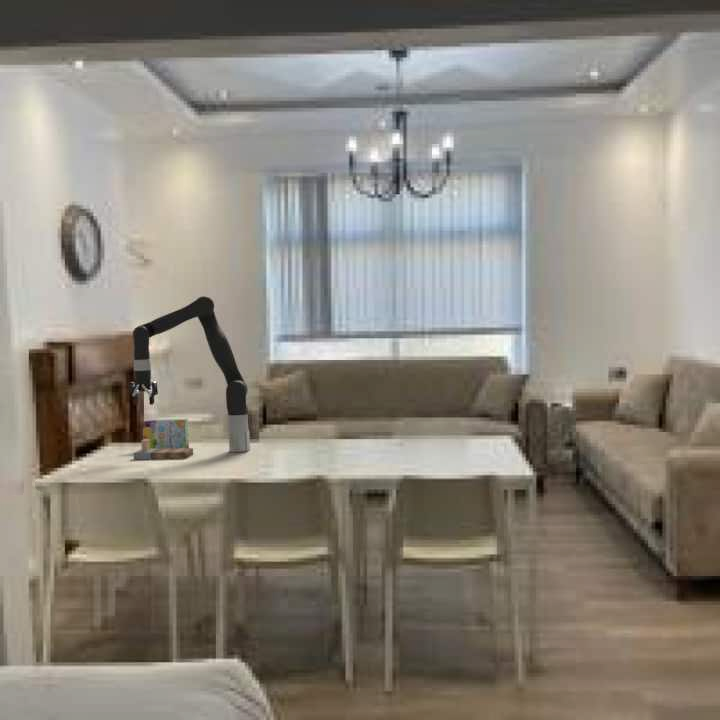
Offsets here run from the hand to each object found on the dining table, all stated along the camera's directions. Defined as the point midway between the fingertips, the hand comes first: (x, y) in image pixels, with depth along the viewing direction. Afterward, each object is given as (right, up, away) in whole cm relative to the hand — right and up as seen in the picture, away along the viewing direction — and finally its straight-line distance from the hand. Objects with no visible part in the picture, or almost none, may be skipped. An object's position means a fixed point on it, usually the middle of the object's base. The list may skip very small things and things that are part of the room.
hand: (143, 404), depth 424 cm
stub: (+2, -24, -2) cm, 24 cm away
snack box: (+6, -23, +19) cm, 31 cm away
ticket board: (+14, -24, -3) cm, 28 cm away
